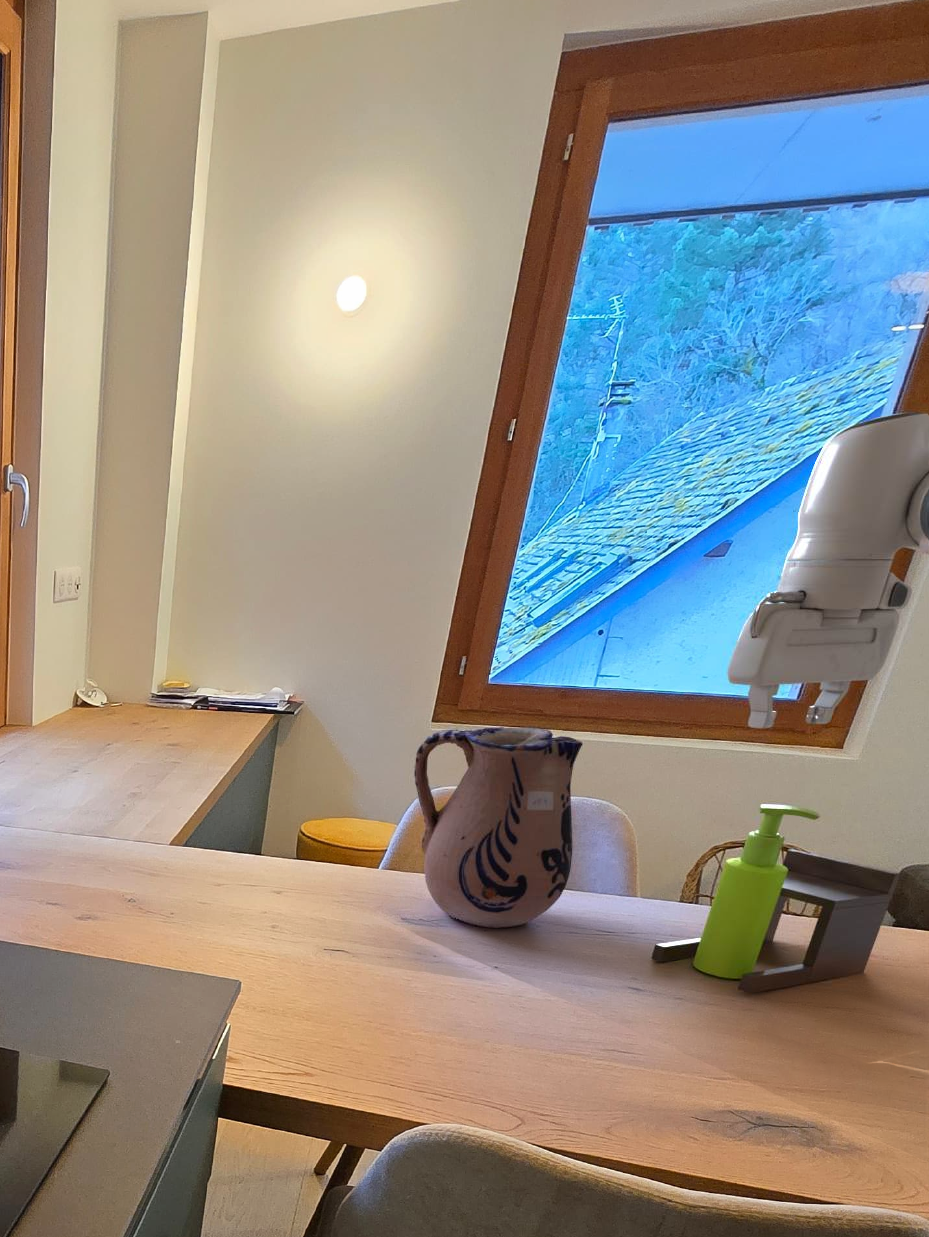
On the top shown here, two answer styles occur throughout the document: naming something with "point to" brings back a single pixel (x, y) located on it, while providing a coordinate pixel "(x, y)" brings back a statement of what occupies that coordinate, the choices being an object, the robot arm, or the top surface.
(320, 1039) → the top surface
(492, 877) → the ceramic pitcher
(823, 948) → the stand
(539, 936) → the top surface
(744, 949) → the soap dispenser
